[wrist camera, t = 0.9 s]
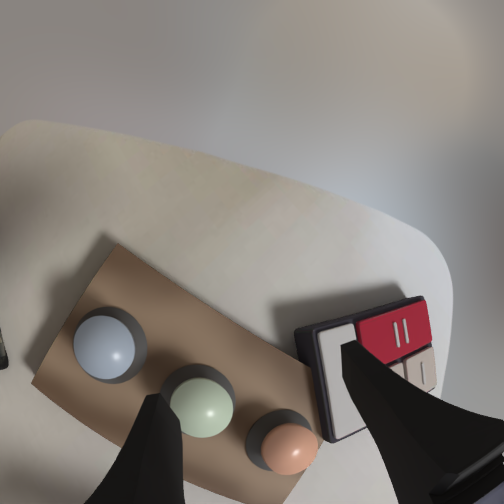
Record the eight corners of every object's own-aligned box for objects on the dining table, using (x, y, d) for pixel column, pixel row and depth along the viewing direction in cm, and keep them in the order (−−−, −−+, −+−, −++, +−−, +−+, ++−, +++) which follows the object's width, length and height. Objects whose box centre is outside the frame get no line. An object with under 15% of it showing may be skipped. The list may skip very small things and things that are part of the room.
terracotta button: (294, 475, 21) (300, 481, 20) (250, 459, 21) (255, 465, 20) (320, 433, 23) (327, 437, 22) (278, 414, 22) (284, 418, 21)
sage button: (211, 441, 20) (213, 447, 19) (159, 414, 20) (159, 419, 19) (240, 395, 22) (244, 398, 21) (189, 366, 21) (190, 368, 20)
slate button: (116, 388, 19) (114, 391, 18) (67, 352, 19) (63, 353, 18) (146, 339, 21) (145, 340, 20) (97, 304, 21) (94, 302, 19)
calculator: (441, 387, 28) (335, 447, 22) (415, 385, 32) (310, 435, 26) (429, 293, 30) (315, 328, 24) (402, 298, 34) (291, 329, 28)
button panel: (268, 503, 23) (276, 513, 21) (39, 380, 20) (30, 383, 18) (339, 387, 28) (352, 390, 26) (120, 249, 25) (117, 242, 23)
